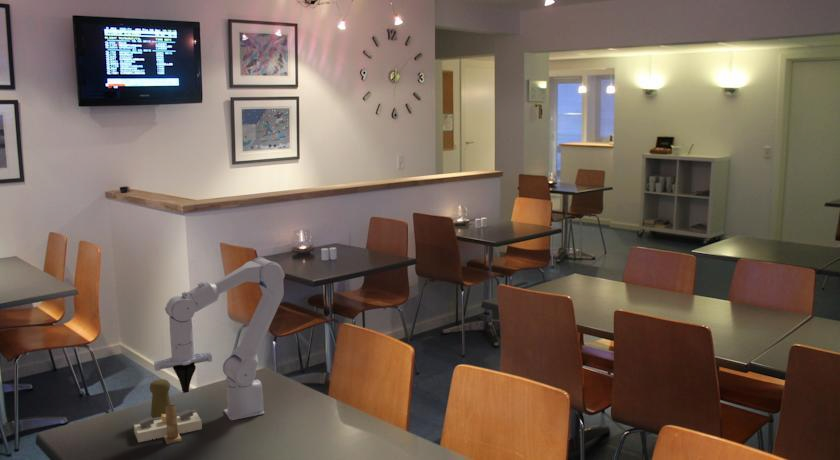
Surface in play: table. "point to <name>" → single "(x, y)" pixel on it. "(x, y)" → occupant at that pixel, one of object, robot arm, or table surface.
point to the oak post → (172, 425)
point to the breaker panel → (161, 427)
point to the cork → (159, 397)
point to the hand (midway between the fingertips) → (185, 391)
